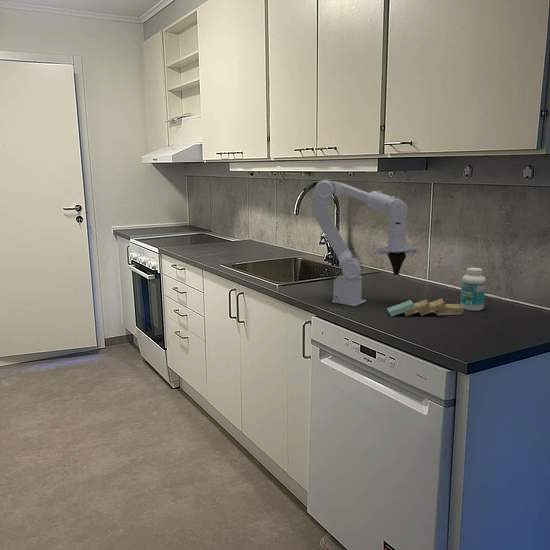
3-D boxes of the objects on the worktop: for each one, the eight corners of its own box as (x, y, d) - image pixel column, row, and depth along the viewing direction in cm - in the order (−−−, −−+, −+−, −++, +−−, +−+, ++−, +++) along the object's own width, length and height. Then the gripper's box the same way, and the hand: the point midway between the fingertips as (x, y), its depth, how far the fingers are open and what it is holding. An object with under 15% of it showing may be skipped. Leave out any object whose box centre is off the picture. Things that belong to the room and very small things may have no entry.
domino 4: (438, 308, 169) (463, 307, 169) (434, 304, 174) (458, 304, 174) (438, 312, 169) (463, 312, 169) (434, 309, 174) (458, 308, 174)
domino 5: (437, 312, 170) (462, 311, 170) (432, 308, 174) (456, 308, 175) (437, 317, 170) (461, 316, 171) (432, 313, 175) (455, 312, 175)
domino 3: (419, 311, 169) (443, 302, 167) (418, 307, 173) (442, 298, 171) (421, 316, 169) (445, 307, 167) (420, 311, 174) (443, 302, 171)
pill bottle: (455, 306, 180) (457, 267, 177) (472, 304, 182) (475, 266, 179) (470, 312, 173) (473, 271, 170) (488, 310, 175) (491, 269, 173)
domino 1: (389, 312, 169) (413, 303, 168) (387, 308, 173) (410, 299, 172) (390, 316, 169) (415, 308, 168) (388, 312, 173) (412, 304, 172)
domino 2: (404, 311, 169) (428, 303, 167) (402, 307, 173) (426, 299, 172) (405, 316, 169) (430, 307, 168) (403, 312, 174) (427, 303, 172)
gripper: (379, 237, 175) (378, 277, 178) (422, 235, 176) (420, 275, 179) (373, 234, 182) (373, 273, 185) (415, 233, 183) (414, 271, 186)
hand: (396, 274), depth 182 cm, fingers closed
